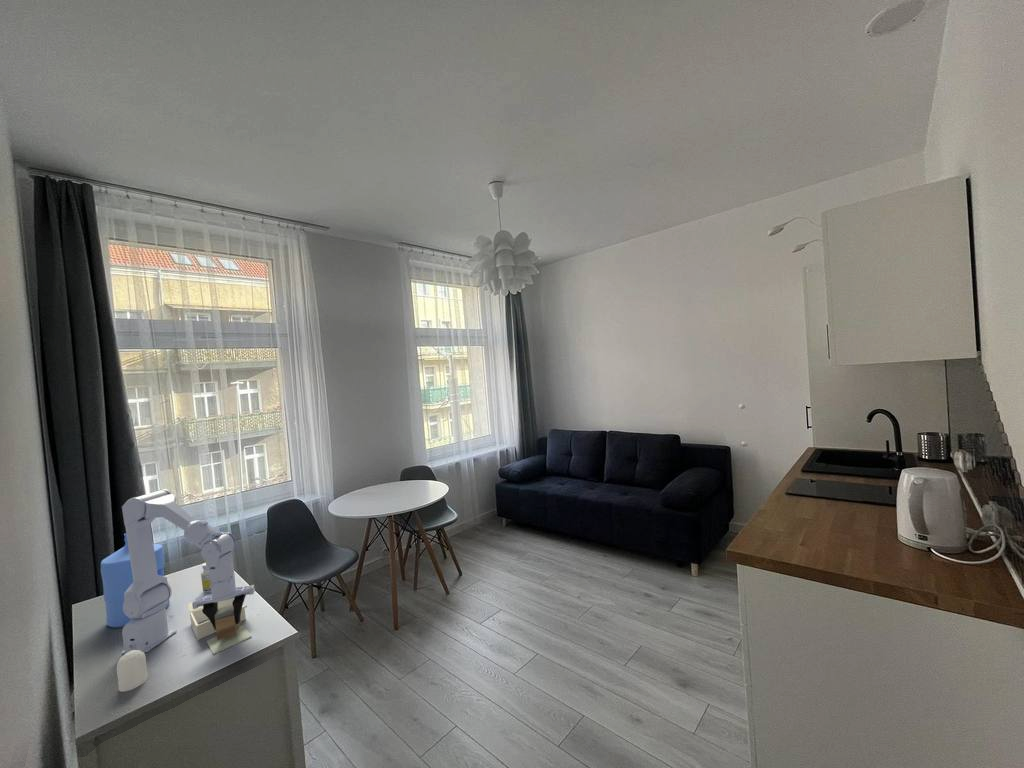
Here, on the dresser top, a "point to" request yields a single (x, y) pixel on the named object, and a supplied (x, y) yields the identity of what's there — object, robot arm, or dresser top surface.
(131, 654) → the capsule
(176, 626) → the dresser top surface
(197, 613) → the carton
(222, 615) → the walnut block
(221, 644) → the mat
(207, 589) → the supplement bottle
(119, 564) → the water jug
